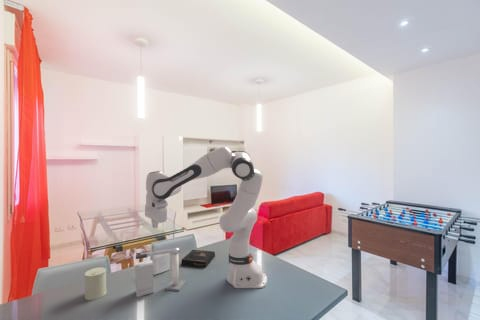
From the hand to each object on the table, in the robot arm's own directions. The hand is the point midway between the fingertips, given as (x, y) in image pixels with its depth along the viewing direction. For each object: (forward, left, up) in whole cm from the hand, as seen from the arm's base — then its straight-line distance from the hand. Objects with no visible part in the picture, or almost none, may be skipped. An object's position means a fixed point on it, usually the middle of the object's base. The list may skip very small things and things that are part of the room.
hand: (155, 227), depth 119 cm
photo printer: (+5, -15, -31) cm, 35 cm away
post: (-11, -2, -31) cm, 33 cm away
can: (+25, +12, -31) cm, 42 cm away
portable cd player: (-12, -33, -32) cm, 47 cm away
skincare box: (+2, +6, -31) cm, 32 cm away
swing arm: (-3, +3, -13) cm, 14 cm away
